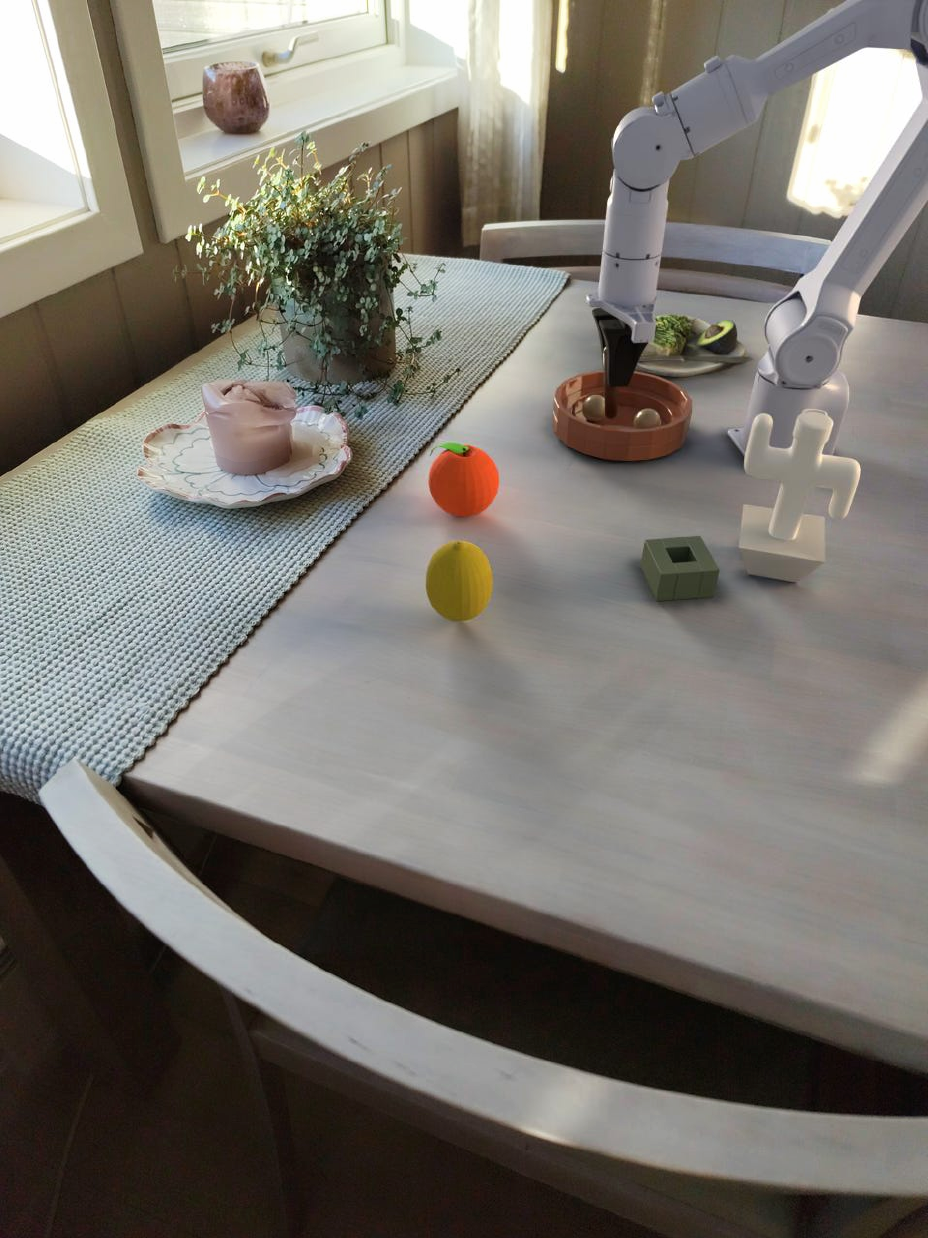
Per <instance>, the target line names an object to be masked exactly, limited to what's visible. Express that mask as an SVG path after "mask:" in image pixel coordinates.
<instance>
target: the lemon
mask: <svg viewBox="0 0 928 1238" xmlns="http://www.w3.org/2000/svg"><path fill="white" fill-rule="evenodd" d="M493 587H494V578H493V571H492V567H491V563H490V561H489V559H488V557H487V555H486V554H485V553H484V551H483V550H482V549H481V548H480V547H479V546H477V545H476V544H474V543H473V542H469V541H465V540H452V541H449V542H447V543H444V544H443V545H441V546H440V547H439V548H437V549H436V551H434V552H433V554H432V556H431V558H430V560H429V562H428V565H427V568H426V573H425V591H426V596H427V598H428V601H429V603H430V605H431V607H432V608H433V610H435V612H436V613H437V614H438V615H439V616H441V617H442V618H444V619H446V620H449V621H451V622H452V621H453V622H467V621H470V620H473V619H474V618H476V617H478V616H479V615H480V614H481V613H482V612H483V611H484V610H485V609H486V608H487V606H488V604H489V602H490V601H491V598H492V594H493Z"/></svg>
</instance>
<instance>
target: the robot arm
mask: <svg viewBox="0 0 928 1238" xmlns="http://www.w3.org/2000/svg"><path fill="white" fill-rule="evenodd" d="M866 48H868V49H870V48H872V49H885V50H886V49H888V50H909V51H910V52H911V53H912V55H913V57H914V59H915V65H916V70H917V76H918V81H919V85H920V89H921V90H920V91H921V100H920V102H919V104H918V106H917V107H916V108H915V110H914V112H913V113H912V115H911V116H910V118H909V120H908V121H907V122H906V125H905V126H904V127H903V129H902V131H901V132H900V134H899V136H898V137H897V139H896V140H895V142H894V143H893V145H892V147H891V148H890V149H889V151H888V153H887V154H886V156H885V158H884V159H883V161H882V162H881V164H880V166H879V167H878V169H877V170H876V172H875V174H874V175H873V177H872V178H871V180H870V181H869V183H868V185H867V186H866V188H865V189H864V191H863V192H862V194H861V196H859V199H858V200H857V202H856V204H855V205H854V206H853V208H852V210H850V211H851V212H850V213H849V215H848V216H847V218H846V220H845V221H844V222H843V224H842V225H841V227H840V229H839V230H838V232H837V234H836V235H835V237H834V238H833V240H832V242H830V244H829V246H828V247H827V250H826V251H825V253H824V254H823V255H822V257H821V259H820V260H819V262H818V264H817V265H816V267H814V268H813V269H812V270H811V271H810V272H807V273H806V274H805V275H802V277H800V278H799V279H798V281H797V283H796V284H795V286H794V287H793V288H792V290H791V291H790V292H789V293H788V294H787V295H785V296H784V297H783V298H781V299H780V300H778V301H777V302H776V303H774V305H773V306H772V307H771V308H770V309H769V311H768V312H767V314H766V315H765V319H764V322H763V334H764V337H765V340H766V342H767V344H768V345H769V346H768V350H767V351H766V352H765V354H764V355H763V357H762V358H761V359H760V360H759V361H758V364H757V369H756V373H755V377H754V382H753V385H752V386H753V387H752V390H751V395H750V399H749V403H748V407H747V412H746V416H745V420H744V425H743V427H742V428H729V429H728V430H727V436H729V438H730V439H731V441H732V442H733V443H734V445H735V446H736V448H737V450H739V452H740V453H741V455H742V456H743V457H744V458H745V453H746V449H747V445H748V441H749V436H750V432H751V428H752V424H753V421H754V419H755V417H756V416H757V415H759V414H762V413H765V414H768V415H770V416H771V418H772V420H773V426H772V431H771V435H770V439H769V445H770V446H771V447H775V448H782V449H787V448H790V447H791V446H792V443H793V439H794V437H793V431H794V427H795V423H796V420H797V417H798V415H800V414H802V412H803V411H804V410H805V409H818V410H822V411H825V412H826V413H827V416H828V417H830V418H831V419H832V420H833V427H832V430H831V433H830V436H829V440H828V441H827V442H826V443H825V444H824V447H823V451H822V454H824V455H831V456H835V455H834V452H835V449H836V446H837V443H838V439H839V436H840V433H841V429H842V428H843V424H844V421H845V418H846V414H847V411H848V407H849V403H850V387H849V382H848V380H847V377H846V376H845V374H844V373H843V372H842V371H841V370H838V368H839V366H840V365H841V362H842V359H843V354H844V348H845V344H846V341H847V340H848V338H849V337H850V335H851V333H852V332H853V330H854V329H855V327H856V322H857V317H858V313H859V308H860V303H861V299H862V297H863V295H864V294H865V293H866V291H867V290H868V288H869V286H870V285H871V284H872V282H873V281H874V279H875V278H876V276H877V275H878V273H879V272H880V271H881V269H882V268H883V266H884V265H885V263H886V262H887V261H888V259H889V258H890V255H891V254H892V253H893V251H894V250H895V249H896V247H897V246H898V245H899V243H900V242H901V240H902V238H903V237H904V235H905V234H906V232H907V231H908V230H909V228H910V227H911V225H912V224H913V223H914V221H915V220H916V218H917V216H919V213H920V212H921V211H922V209H923V208H924V207H925V205H926V204H927V202H928V0H845V1H842V2H841V3H840V4H839V5H837V6H836V7H834V8H832V9H831V10H829V11H827V12H826V13H825V14H823V15H822V16H820V17H818V18H817V19H815V20H813V22H811V23H809V24H808V25H805V26H804V27H803V28H801V29H800V30H798V31H797V32H796V33H793V34H792V35H791V36H789V37H788V38H786V39H785V40H783V41H782V42H780V43H779V44H777V45H776V46H774V47H771V48H770V49H769V50H767V51H766V52H764V53H763V54H761V55H760V56H758V57H756V58H755V59H750V58H746V57H743V56H740V55H736V54H731V55H729V56H728V57H726V58H725V59H723V60H721V58H720V56H718V55H715V56H713V57H711V58H710V59H708V60H706V61H705V62H704V63H703V68H704V70H705V71H703V72H702V73H700V74H698V75H697V76H695V77H693V78H691V79H690V80H688V81H686V82H685V83H683V84H682V85H680V86H679V87H677V88H675V89H673V90H672V91H670V92H668V93H667V94H664V91H663V90H661V91H659V92H657V93H656V94H654V95H653V96H652V98H651V99H652V100H651V101H652V103H653V105H654V106H648V107H646V106H641V107H638V108H635V109H632V110H631V111H630V112H628V113H627V114H625V116H623V118H622V119H621V120H620V122H619V124H618V125H617V126H616V129H615V131H614V134H613V137H612V138H611V143H610V144H611V145H610V146H611V153H612V162H613V167H614V169H613V174H612V176H611V179H610V184H609V191H610V195H609V197H608V199H607V201H606V202H607V204H606V213H605V223H604V233H603V243H602V253H601V262H600V263H601V264H600V272H599V283H598V288H597V290H596V292H595V293H588V294H586V298H585V302H586V304H587V306H588V307H590V308H592V310H591V314H592V317H593V320H594V322H595V325H596V328H597V333H598V337H599V344H600V352H601V363H602V370H603V372H604V365H603V350H604V348H605V347H606V352H607V377H608V383H609V385H610V387H620V386H628V385H629V383H630V381H631V379H632V376H633V374H634V371H635V368H636V366H637V363H638V361H639V359H640V356H641V354H642V352H643V351H644V349H645V347H646V346H647V344H648V343H649V342H654V336H655V334H656V331H657V326H656V322H655V320H654V317H655V314H656V313H655V312H656V309H657V300H658V296H657V295H656V294H657V288H658V280H659V274H660V268H661V267H660V266H661V260H662V254H663V253H662V251H663V245H664V239H665V231H666V225H667V216H668V209H669V200H668V191H669V185H670V179H671V178H672V177H673V175H674V174H675V172H676V170H677V168H678V166H679V164H680V161H688V160H691V159H693V158H695V157H697V156H698V155H701V154H702V153H704V152H706V151H707V150H709V149H711V148H713V147H715V146H717V145H718V144H720V143H722V142H724V141H725V140H727V139H729V138H731V137H732V136H734V135H736V134H738V133H740V132H741V131H742V130H744V129H746V128H748V127H750V126H752V125H753V124H756V123H757V122H758V120H759V118H760V115H761V113H762V111H763V108H764V106H765V104H766V102H767V101H768V100H769V99H770V98H771V97H773V96H775V95H777V94H779V93H780V92H782V91H784V90H786V89H788V88H790V87H792V86H795V84H797V83H800V82H801V81H804V80H805V79H807V78H809V77H811V76H813V75H814V74H817V73H819V72H820V71H822V70H824V69H826V68H828V67H830V66H832V65H834V64H836V63H837V62H839V61H841V60H844V59H845V58H847V57H849V56H851V55H853V54H855V53H857V52H859V51H860V50H863V49H866Z"/></svg>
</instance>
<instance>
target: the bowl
mask: <svg viewBox="0 0 928 1238" xmlns="http://www.w3.org/2000/svg"><path fill="white" fill-rule="evenodd" d="M592 395H600V396H602V397H603V398H604V372H603V369H602V370H601V369H600V370H594V371H587V372H583V373H579V374H576V375H574V376H572V377H569V378H568V379H565V380H564V381H563V382H562V383H560V384H559V386H557V387H556V389H555V393H554V397H553V407H552V421H551V427H552V429H553V432H554V434H555V436H556V437H557V438H558V439H559V440H560V441H561V442H562V443H564V445H566V446H568V447H569V448H571V449H573V450H576V451H578V452H579V453H582V454H585V455H588V456H592V457H596V458H599V459H603V460H609V461H610V460H611V461H622V462H636V461H649V460H653V459H657V458H661V457H665V456H668V455H670V454H672V453H673V452H675V451H677V450H679V449H680V448H681V447H682V446H683V444H684V443H685V442H686V441H687V439H688V435H689V429H690V424H691V419H692V414H693V400H692V398H691V397H690V395H689V394H688V392H687V391H686V390H685V389H683V388H682V387H681V386H679V385H678V384H676V383H675V382H673V381H671V380H668V379H665V378H664V377H660V376H659V375H655V374H650V373H646V372H639V371H634V374H633V376H632V379H631V381H630V383H629V385H628V386H620V387H617V411H618V412H617V416H616V417H615V418H614V419H608V418H607V417H606V416H605V417H604V418H603V419H602V420H600V421H597V422H592V421H589V420H588V419H586V418H585V417H584V415H583V412H582V405H583V403H584V401H585V400H586V398H588V397H589V396H592ZM643 409H653V410H655V411H656V412H657V413H658V414H659V416H660V418H661V425H660V426H659V427H654V428H649V429H635V428H634V418H635V416H636V414H637V413H638V412H639V411H641V410H643Z"/></svg>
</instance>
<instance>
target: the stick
mask: <svg viewBox="0 0 928 1238" xmlns="http://www.w3.org/2000/svg"><path fill="white" fill-rule="evenodd" d="M603 365H604V404H605V416H606V417H607V418H608V419H614V418H615V417H616V416H617V412H618V411H617V387H610V385H609V383H608V377H607V352H606V347H605V348H604V350H603V364H602V366H603Z"/></svg>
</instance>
